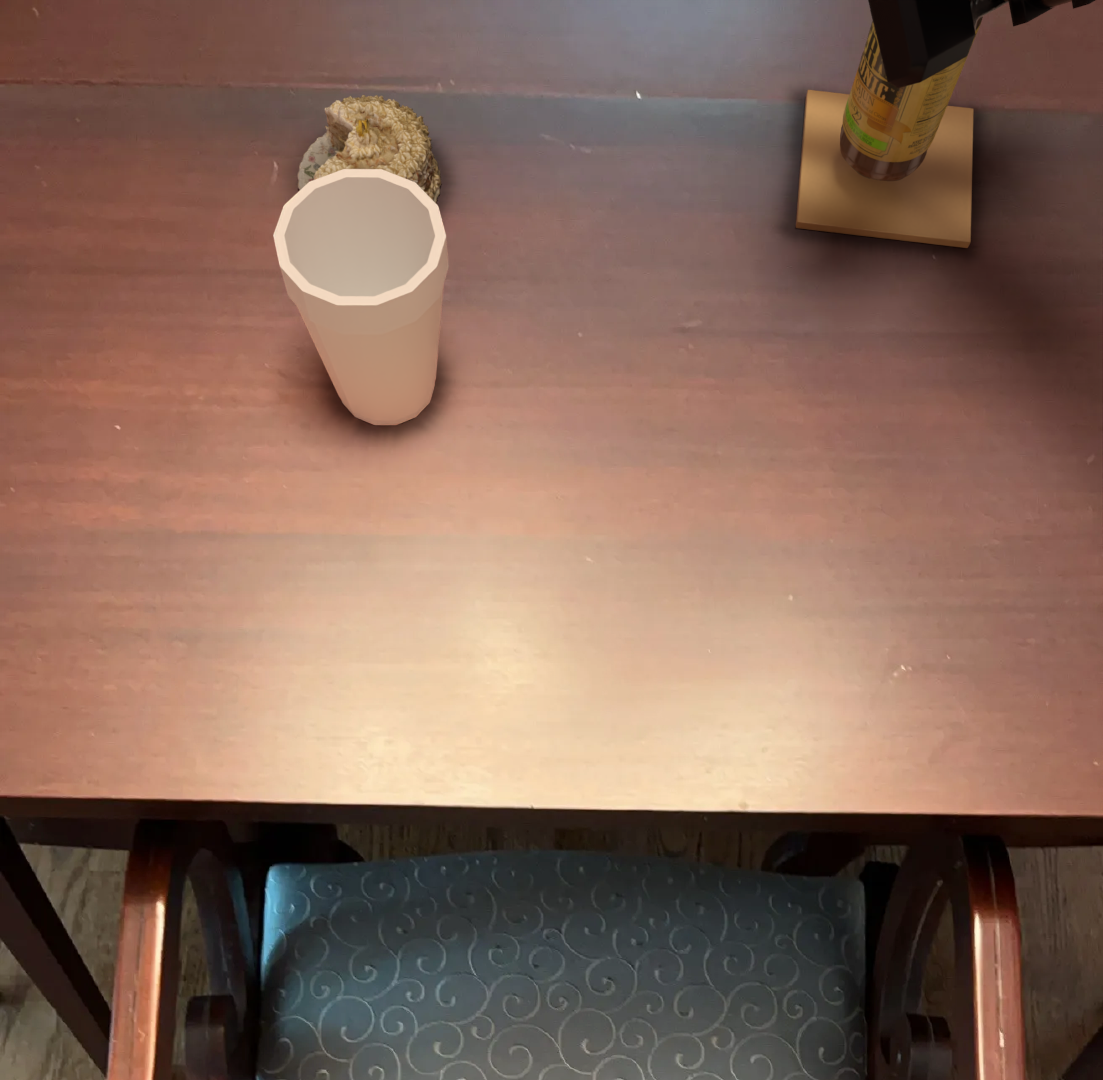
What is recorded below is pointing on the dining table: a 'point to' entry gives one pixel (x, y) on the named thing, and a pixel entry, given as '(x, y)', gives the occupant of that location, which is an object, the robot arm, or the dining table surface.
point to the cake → (373, 143)
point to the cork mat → (885, 182)
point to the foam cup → (368, 286)
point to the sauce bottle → (892, 117)
